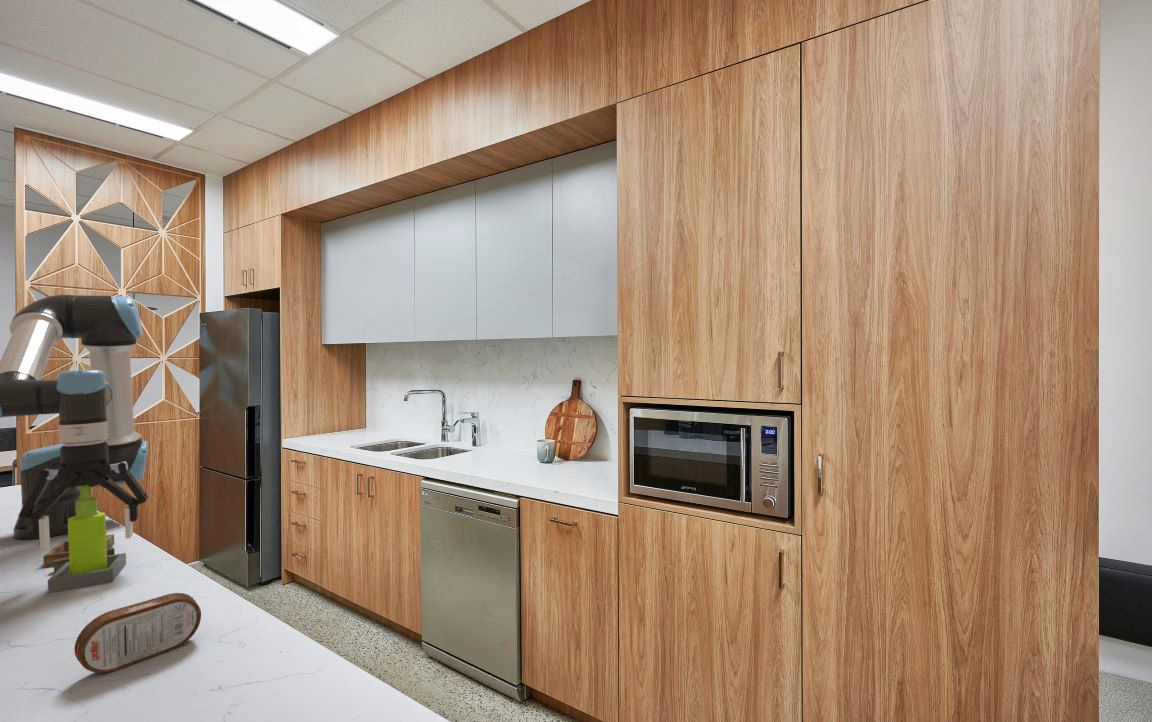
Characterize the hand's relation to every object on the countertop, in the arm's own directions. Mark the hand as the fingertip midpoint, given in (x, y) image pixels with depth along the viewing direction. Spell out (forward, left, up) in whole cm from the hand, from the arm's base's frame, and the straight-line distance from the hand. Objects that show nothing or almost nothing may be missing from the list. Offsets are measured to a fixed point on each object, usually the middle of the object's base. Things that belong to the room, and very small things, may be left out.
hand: (88, 542), depth 114 cm
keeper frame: (0, 0, -7) cm, 7 cm away
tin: (+46, +17, -8) cm, 50 cm away
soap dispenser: (0, 0, -8) cm, 8 cm away
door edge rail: (-9, -3, -7) cm, 12 cm away
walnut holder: (-19, -6, -7) cm, 21 cm away
